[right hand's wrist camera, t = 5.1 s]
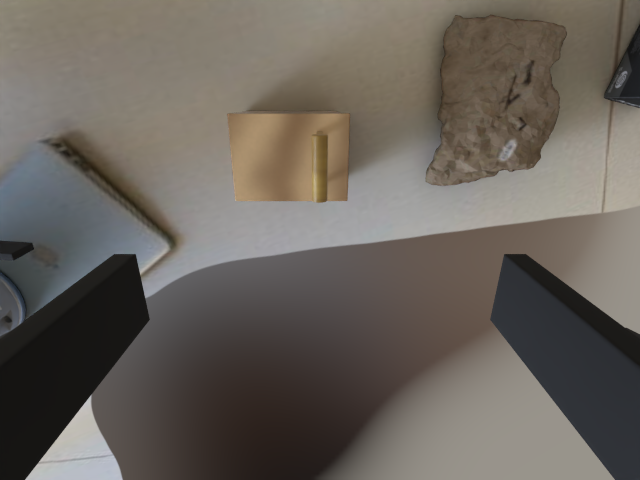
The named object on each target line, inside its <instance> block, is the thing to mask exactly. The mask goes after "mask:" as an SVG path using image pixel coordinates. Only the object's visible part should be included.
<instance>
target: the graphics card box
mask: <svg viewBox="0 0 640 480" xmlns="http://www.w3.org/2000/svg"><path fill="white" fill-rule="evenodd" d="M604 98H605V99H608V100H611V101H615V102H620V103H623V104H627V105H631V106H634V107H638V108H640V25H639V27H638V29H637V31H636V33H635V35H634V37H633V39H632V41H631V43H630V45H629V47H628V49H627V51H626V53H625V55H624V57H623V59H622V61H621V63H620V65H619V67H618V69H617V71H616V73H615V75H614V77H613V79H612V81H611V82H610V85H609V87H608V89H607V90H606V93H605V95H604Z"/></svg>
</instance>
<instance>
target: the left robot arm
mask: <svg viewBox="0 0 640 480" xmlns="http://www.w3.org/2000/svg"><path fill="white" fill-rule="evenodd" d="M33 249H34V247H33V244H32V243H27V242H11V241H0V260H15V259H17V258H19V257H21V256H23V255H24V254H26V253H28V252H30V251H32V250H33ZM25 314H26V309H25V303H24V300H23V297H22V295H21V293H20V292H19V290H18V289H17V287H16V286H15V285H14V284H13V283H12V282H11V281H10V280H9V279H8V278H7V277H6V276H5V275H4V274H2V273H1V272H0V336H1V335H3V334H5V333H7V332H9V331H11V330H13V329H14V328H16V327H17V326H18V325H20V324H21V323H22V322H23V321H24V319H25Z"/></svg>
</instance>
